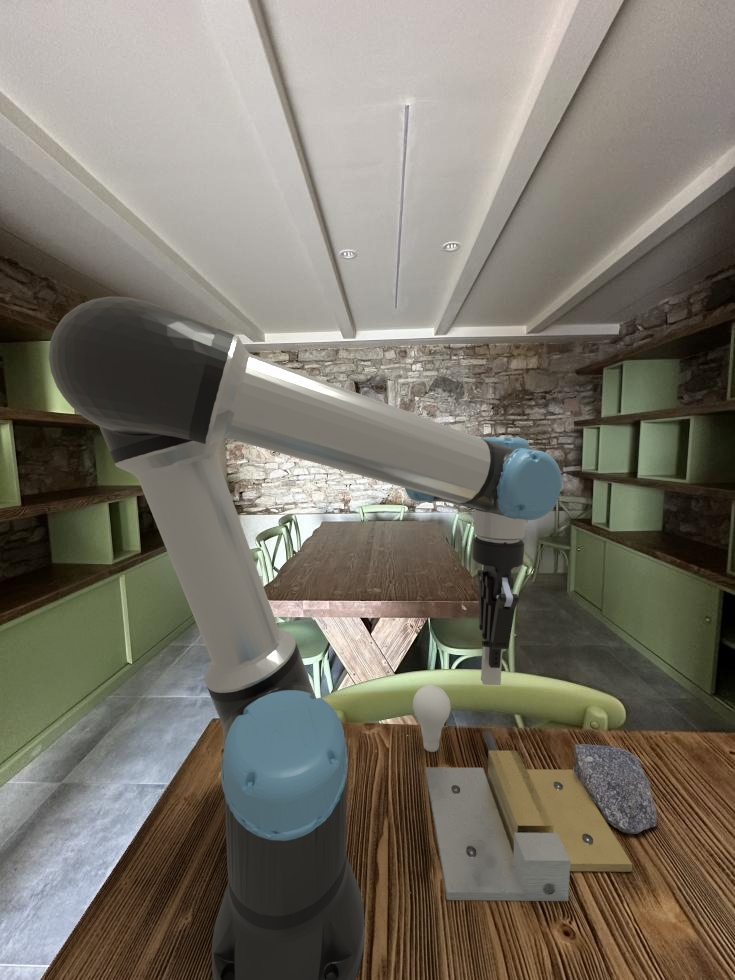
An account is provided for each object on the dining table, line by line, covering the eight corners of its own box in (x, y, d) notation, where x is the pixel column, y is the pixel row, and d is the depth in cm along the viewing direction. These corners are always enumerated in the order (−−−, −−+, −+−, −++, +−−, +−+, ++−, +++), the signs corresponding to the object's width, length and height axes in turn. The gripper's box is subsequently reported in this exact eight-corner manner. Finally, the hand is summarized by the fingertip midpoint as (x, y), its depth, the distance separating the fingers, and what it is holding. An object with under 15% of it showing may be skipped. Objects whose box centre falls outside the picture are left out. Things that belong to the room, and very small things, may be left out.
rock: (564, 741, 63) (627, 733, 63) (565, 771, 64) (627, 763, 64) (611, 814, 51) (689, 804, 51) (612, 849, 52) (688, 840, 52)
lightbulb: (434, 771, 63) (435, 704, 61) (404, 749, 67) (405, 687, 66) (457, 751, 67) (458, 688, 65) (428, 732, 71) (429, 673, 70)
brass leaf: (519, 870, 48) (520, 833, 47) (485, 775, 62) (486, 745, 61) (631, 871, 48) (634, 834, 47) (572, 775, 61) (574, 745, 61)
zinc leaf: (446, 900, 45) (447, 859, 44) (420, 742, 69) (420, 715, 68) (568, 901, 45) (570, 860, 44) (499, 742, 68) (500, 715, 68)
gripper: (540, 548, 56) (529, 708, 58) (508, 530, 69) (501, 661, 71) (486, 546, 56) (477, 707, 58) (464, 529, 69) (458, 660, 71)
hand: (490, 681), depth 65 cm, fingers closed
